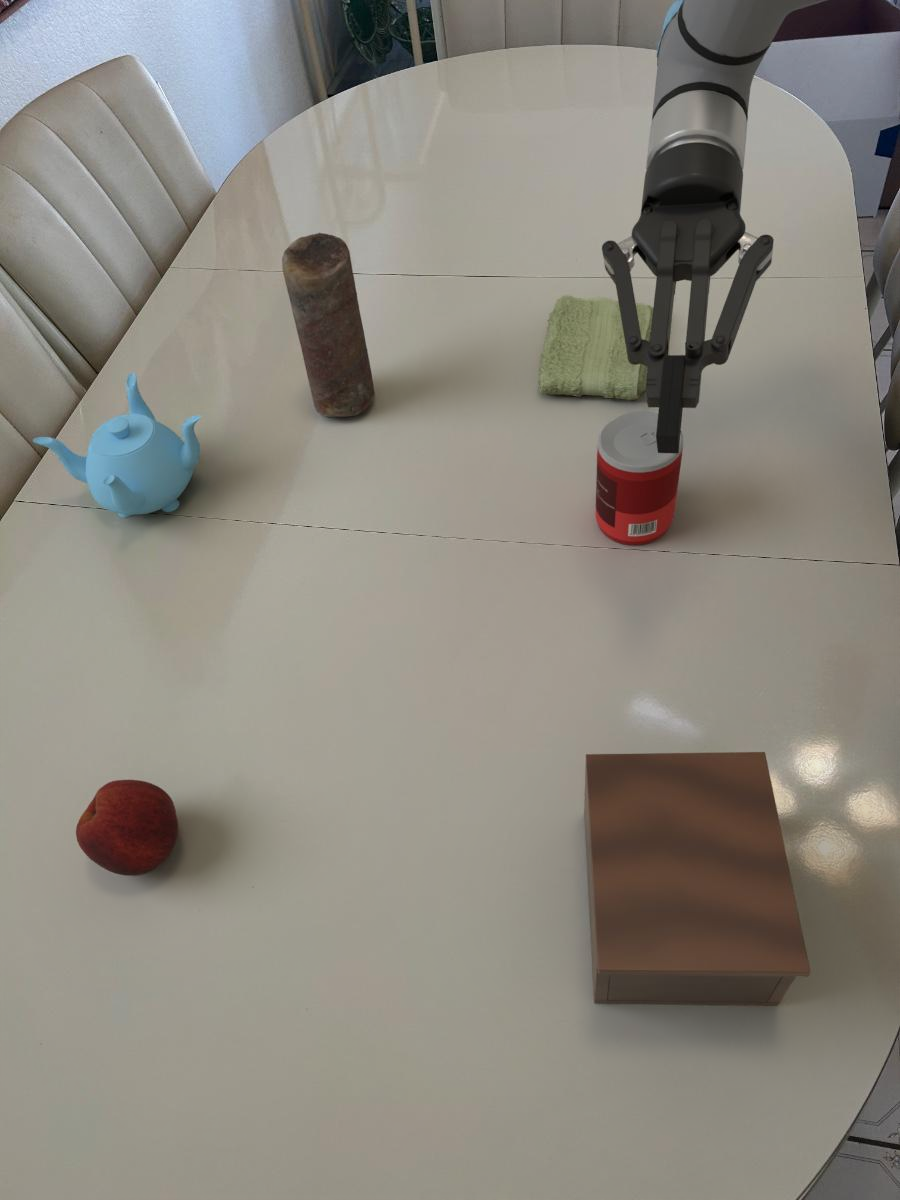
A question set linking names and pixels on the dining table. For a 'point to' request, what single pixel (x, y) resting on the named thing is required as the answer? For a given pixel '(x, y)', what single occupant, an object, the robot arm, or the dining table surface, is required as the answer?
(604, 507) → the canned food
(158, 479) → the teapot
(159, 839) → the apple
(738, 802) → the lid
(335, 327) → the candle
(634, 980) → the chest
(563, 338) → the washcloth
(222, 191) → the dining table surface
